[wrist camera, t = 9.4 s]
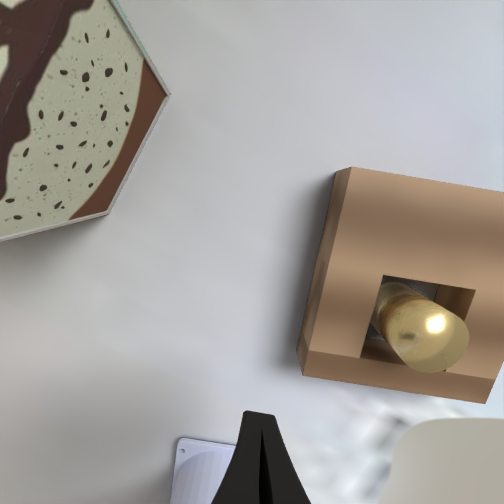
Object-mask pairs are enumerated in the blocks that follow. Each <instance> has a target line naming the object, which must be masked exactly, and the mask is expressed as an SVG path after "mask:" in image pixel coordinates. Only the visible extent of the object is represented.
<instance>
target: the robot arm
mask: <svg viewBox="0 0 504 504" xmlns="http://www.w3.org/2000/svg"><path fill="white" fill-rule="evenodd" d="M170 504H311V502H310V501H309V499H308V497H307V495H306V493H305V490H304V488H303V486H302V484H301V482H300V480H299V478H298V476H297V473H296V471H295V469H294V467H293V464H292V462H291V459H290V457H289V455H288V452H287V450H286V447H285V444H284V442H283V439H282V436H281V433H280V431H279V428H278V424H277V421H276V418H275V416H274V415H270V414H264V413H258V412H252V411H245V412H243V417H242V422H241V427H240V432H239V436H238V441H237V444H236V446H234V445H228V444H221V443H214V442H208V441H201V440H195V439H188V438H181V439H179V441H178V444H177V451H176V459H175V467H174V475H173V483H172V492H171V500H170Z"/></svg>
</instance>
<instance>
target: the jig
mask: <svg viewBox="0 0 504 504" xmlns="http://www.w3.org/2000/svg"><path fill="white" fill-rule="evenodd" d="M383 275H388V276H394V277H401V278H407V279H413V280H419V281H425V282H431V283H437V284H440V285H439V288H438V291H437V294H436V297H435V300H434V302H435V303H437V304H438V305H440V306H442V307H443V308H445V309H447V310H448V311H450V312H452V313H453V314H455V315H457V316H458V317H459V318H461V319H462V320H463V322H464V323H465V324H466V326H467V329H468V332H469V344H468V347H467V349H466V352H465V353H464V355H463V356H462V358H461V359H460V360H459V361H458V362H457V363H455V364H454V365H453V366H451V367H449V368H447V369H445V370H442V371H439V372H433V373H425V372H420V371H417V370H414V369H412V368H411V367H409V366H408V365H407V364H406V363H405V362H404V361H403V360H402V359H401V358H400V356H399V355H398V354H397V353H396V352H395V351H394V350H393V349H392V347H391V346H390V345H389V344H388V343H387V342H386V341H381V340H375V339H368V338H365V337H366V333H367V330H368V326H369V323H370V319H371V316H372V312H373V309H374V305H375V302H376V298H377V295H378V291H379V288H380V284H381V281H382V277H383ZM296 351H297V355H298V359H299V363H300V367H301V371H302V375H303V376H309V377H315V378H322V379H328V380H334V381H341V382H347V383H354V384H360V385H366V386H373V387H379V388H386V389H392V390H398V391H405V392H411V393H417V394H424V395H430V396H437V397H443V398H449V399H456V400H462V401H468V402H475V403H481V404H485V403H486V401H487V399H488V396H489V394H490V392H491V389H492V387H493V384H494V382H495V380H496V377H497V375H498V373H499V370H500V368H501V366H502V363H503V361H504V192H499V191H493V190H487V189H481V188H475V187H469V186H463V185H457V184H451V183H446V182H440V181H434V180H428V179H422V178H416V177H410V176H404V175H398V174H392V173H386V172H380V171H375V170H369V169H363V168H357V167H349V168H346V169H343V170H339V171H336V175H335V180H334V184H333V189H332V193H331V198H330V202H329V206H328V211H327V215H326V220H325V224H324V229H323V233H322V238H321V242H320V247H319V251H318V255H317V260H316V264H315V269H314V273H313V278H312V282H311V287H310V291H309V296H308V300H307V305H306V309H305V313H304V318H303V322H302V327H301V331H300V336H299V340H298V345H297V349H296Z"/></svg>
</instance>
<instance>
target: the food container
mask: <svg viewBox="0 0 504 504" xmlns="http://www.w3.org/2000/svg"><path fill="white" fill-rule="evenodd" d="M170 95H171V94H170V92H169V90H168V88H167V87H166V85H165V83H164V81H163V80H162V78H161V76H160V74H159V73H158V71H157V69H156V68H155V66H154V64H153V62H152V61H151V59H150V57H149V55H148V54H147V52H146V50H145V48H144V47H143V45H142V43H141V41H140V40H139V38H138V36H137V35H136V33H135V31H134V29H133V28H132V26H131V24H130V22H129V21H128V19H127V17H126V15H125V14H124V12H123V10H122V9H121V7H120V5H119V3H118V2H117V0H0V242H4V241H7V240H11V239H15V238H19V237H23V236H27V235H30V234H34V233H38V232H42V231H46V230H50V229H53V228H57V227H61V226H65V225H69V224H73V223H76V222H80V221H84V220H88V219H92V218H96V217H100V216H103V215H107V214H109V213H110V211H111V209H112V207H113V205H114V203H115V202H116V200H117V198H118V196H119V194H120V192H121V190H122V188H123V186H124V184H125V182H126V180H127V178H128V176H129V174H130V173H131V171H132V169H133V167H134V165H135V163H136V161H137V159H138V157H139V155H140V153H141V151H142V149H143V147H144V145H145V144H146V142H147V140H148V138H149V136H150V134H151V132H152V130H153V128H154V126H155V124H156V122H157V120H158V118H159V117H160V115H161V113H162V111H163V109H164V107H165V105H166V103H167V101H168V99H169V97H170Z"/></svg>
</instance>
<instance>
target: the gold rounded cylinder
mask: <svg viewBox="0 0 504 504" xmlns="http://www.w3.org/2000/svg"><path fill="white" fill-rule="evenodd" d="M370 324H371V325H372V326H373V327H374V328H375V329H376V330H377V331H378V333H379V334H380V335H381V336H382V337H383V338H384V339H385V341H386V342H387V343H388V344H389V345H390V346H391V347H392V349H393V350H394V351H395V352H396V353H397V354H398V355H399V356H400V358H401V359H402V360H403V361H404V362H405V363H406V364H407V365H408V366H409V367H411V368H412V369H414V370H417V371H420V372H425V373H433V372H439V371H442V370H445V369H447V368H449V367H451V366H453V365H454V364H455V363H457V362H458V361H459V360H460V359H461V358H462V356H463V355H464V353H465V352H466V349H467V347H468V344H469V332H468V329H467V326H466V324H465V323H464V322H463V320H462V319H461V318H459V317H458V316H457V315H455V314H453V313H452V312H450V311H448V310H447V309H445V308H443V307H442V306H440V305H438V304H437V303H435V302H433V301H432V300H430V299H428V298H427V297H425V296H423V295H422V294H420V293H418V292H417V291H415V290H413V289H412V288H410V287H408V286H407V285H405V284H403V283H399V282H387V283H383V284H381V285H380V288H379V291H378V295H377V298H376V302H375V305H374V309H373V312H372V316H371V319H370Z"/></svg>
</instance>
